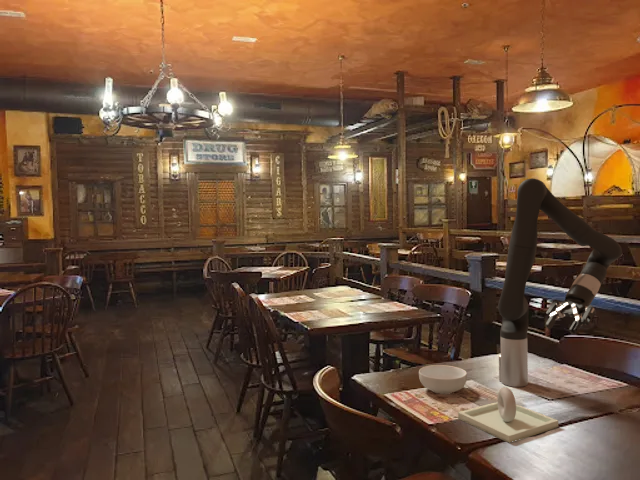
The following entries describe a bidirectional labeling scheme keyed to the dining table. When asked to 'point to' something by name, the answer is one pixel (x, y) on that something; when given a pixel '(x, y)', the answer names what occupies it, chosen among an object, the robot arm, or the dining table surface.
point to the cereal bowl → (442, 378)
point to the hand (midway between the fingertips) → (559, 330)
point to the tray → (517, 429)
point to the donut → (506, 404)
